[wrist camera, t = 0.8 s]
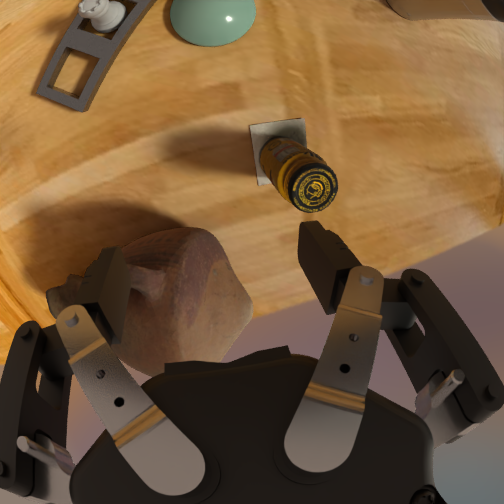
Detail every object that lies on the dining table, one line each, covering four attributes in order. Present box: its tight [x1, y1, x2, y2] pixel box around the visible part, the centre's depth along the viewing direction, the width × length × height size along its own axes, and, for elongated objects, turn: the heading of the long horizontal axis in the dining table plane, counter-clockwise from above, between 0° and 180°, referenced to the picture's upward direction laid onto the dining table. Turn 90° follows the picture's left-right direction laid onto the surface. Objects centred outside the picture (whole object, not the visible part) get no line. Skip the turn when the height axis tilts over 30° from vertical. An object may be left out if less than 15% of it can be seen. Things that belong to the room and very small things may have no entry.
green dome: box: [170, 0, 256, 47], centre depth 22 cm, size 10×10×1 cm
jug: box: [46, 227, 253, 377], centre depth 33 cm, size 20×20×30 cm
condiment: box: [250, 118, 338, 213], centre depth 30 cm, size 7×8×12 cm
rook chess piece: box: [78, 0, 127, 33], centre depth 16 cm, size 4×4×8 cm
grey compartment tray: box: [36, 0, 157, 112], centre depth 19 cm, size 24×8×2 cm, turn 145°
